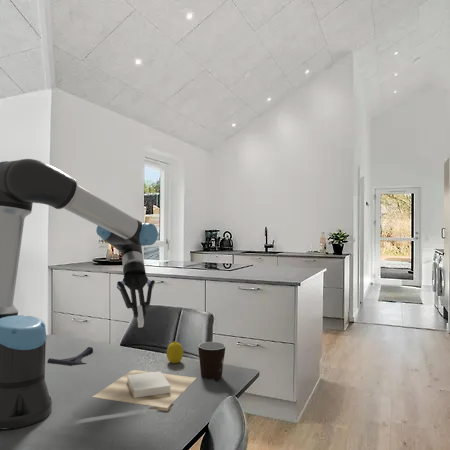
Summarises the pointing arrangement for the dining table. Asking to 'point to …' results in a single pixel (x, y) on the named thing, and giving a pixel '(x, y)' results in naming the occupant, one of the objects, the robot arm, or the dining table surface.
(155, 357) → the dining table surface
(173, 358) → the lemon
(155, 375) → the tile
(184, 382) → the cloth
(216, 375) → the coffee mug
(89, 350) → the dark grey forked piece
